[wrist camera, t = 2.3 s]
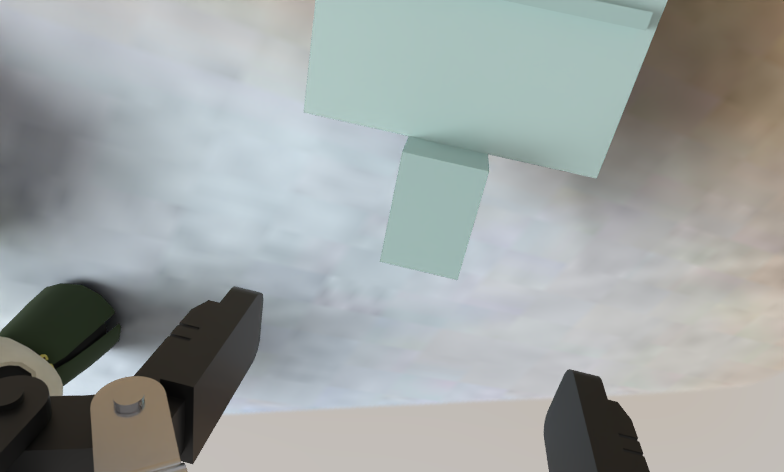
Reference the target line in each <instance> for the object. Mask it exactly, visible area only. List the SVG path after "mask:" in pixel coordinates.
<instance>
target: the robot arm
mask: <svg viewBox="0 0 784 472" xmlns="http://www.w3.org/2000/svg"><path fill="white" fill-rule="evenodd" d="M262 308H263V294H262V293H260V292H256V291H251V290H247V289H243V288H239V287H233V288H231V290H230V291H229V292H228V293H227V295H226V296H225V297H224V298H223V300H222V301H221V302H220V303H218V302H214V301H210V300H208V301H206V302H205V303H203V304H201V305H199V306H197V307H195V308H193V309H192V310H191V311H190V312H189V313H188V314H187V315H186V316H185V317H184V319H183V320H182V321H181V322H180V325H179V326H177V327H176V328H175V329H174V330H173V331H172V333H171V335H170V336H168V337H167V338H166V339H165V341H164V342H163V343H162V344H161V345H160V346H159V348H158V349H157V350H156V351H155V352H154V353H153V354H152V356H151V357H150V358H149V359H148V360H147V361H146V363H145V364H144V365H143V366H142V367H141V368H140V369H139V371H138V372H137V373H136V374H135V375H134V376H131V377H125V378H121V379H118V380H115V381H113V382H111V383H109V384H107V385H106V386H104V387H103V388H101V389H100V390H99V391H98V392H97V393H96V395H85V396H50V394H49V389H48V386H47V385H46V383H45V382H43V381H42V380H40V379H38V378H36V377H32V376H26V375H17V376H9V377H4V378H1V379H0V472H187V468H186V465H185V463H181V461H183V462H187V463H190V464H193V463H194V461H195V460H196V458H197V456H198V455H199V453H200V451H201V450H202V448H203V446H204V444H205V442H206V441H207V439H208V438H209V436H210V434H211V432H212V431H213V429H214V427H215V426H216V424H217V422H218V420H219V419H220V417H221V415H222V414H223V412H224V410H225V409H226V407H227V405H228V403H229V402H230V400H231V398H232V397H233V395H234V393H235V392H236V390H237V388H238V386H239V385H240V383H241V381H242V380H243V378H244V376H245V374H246V373H247V371H248V369H249V368H250V366H251V364H252V362H253V360H254V358H255V356H256V353H257V350H258V346H259V341H260V331H261V320H262ZM637 439H638V437H637V434H636V431H635V429H634V426H633V423H632V420H631V419H630V417H629V416H628V415H627V414H626V412H625V411H624V410H623V408H622V407H621V406H620V405H619V403H618V402H615V401H611V400H608V399H607V396H606V392H605V389H604V386H603V383H602V380H601V378H600V377H599V376H595V375H591V374H587V373H583V372H578V371H574V370H570V369H569V370H567V371H566V373H565V374H564V376H563V379H562V381H561V383H560V385H559V387H558V390H557V392H556V394H555V396H554V398H553V401H552V403H551V405H550V407H549V410H548V412H547V415H546V419H545V424H544V440H545V447H546V453H547V461H548V467H549V472H650V471H649V469H648V466H647V463H646V460H645V458H644V457H643V452H642V449H641V446H640V443H639V442H638V441H637Z"/></svg>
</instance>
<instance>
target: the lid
mask: <svg viewBox="0 0 784 472" xmlns="http://www.w3.org/2000/svg"><path fill="white" fill-rule="evenodd" d="M667 1H668V0H316V1H315V11H314V20H313V29H312V39H311V48H310V57H309V67H308V76H307V85H306V95H305V104H304V113H308V114H313V115H317V116H322V117H326V118H331V119H335V120H339V121H344V122H348V123H353V124H357V125H361V126H366V127H370V128H375V129H379V130H384V131H388V132H392V133H397V134H401V135H406V136H409V137H408V139H407V142H406V144H405V147H404V149H403V151H402V156H401V161H400V166H399V171H398V175H397V180H396V185H395V190H394V195H393V200H392V205H391V210H390V215H389V219H388V224H387V229H386V234H385V239H384V244H383V249H382V254H381V259H380V262H383V263H388V264H392V265H396V266H400V267H404V268H409V269H413V270H417V271H421V272H425V273H430V274H434V275H438V276H442V277H447V278H451V279H455V280H458V276H459V273H460V270H461V266H462V263H463V259H464V256H465V252H466V249H467V246H468V242H469V239H470V235H471V232H472V228H473V225H474V222H475V218H476V215H477V211H478V208H479V204H480V201H481V198H482V194H483V191H484V187H485V184H486V180H487V177H488V174H489V163H488V154H490V155H494V156H499V157H503V158H507V159H512V160H516V161H521V162H525V163H529V164H534V165H538V166H543V167H547V168H552V169H556V170H560V171H565V172H569V173H574V174H578V175H583V176H587V177H591V178H596V179H597V176H598V174H599V171H600V169H601V166H602V164H603V161H604V159H605V156H606V154H607V151H608V149H609V146H610V144H611V141H612V139H613V136H614V134H615V131H616V129H617V126H618V124H619V121H620V119H621V116H622V114H623V111H624V109H625V106H626V104H627V101H628V98H629V96H630V93H631V91H632V88H633V86H634V83H635V81H636V78H637V76H638V73H639V71H640V68H641V66H642V63H643V61H644V58H645V56H646V53H647V51H648V48H649V46H650V43H651V41H652V38H653V36H654V33H655V31H656V28H657V26H658V23H659V21H660V18H661V16H662V13H663V11H664V8H665V6H666V3H667Z"/></svg>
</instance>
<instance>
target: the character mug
mask: <svg viewBox="0 0 784 472" xmlns="http://www.w3.org/2000/svg"><path fill="white" fill-rule="evenodd" d="M114 314H115V311H114V309H113V308H112V307H111V306H110V304H109V303H108V302H107V301H106V300H105V299H104V298H103V297H102V296H101V295H100V294H98V293H96V292H94V291H92V290H90V289H89V288H87V287H85V286H83V285H76V284H62V283H61V284H57V285H53V286H50V287H46V288H45V289H44V290H43V291H41V292H40V293H39V294H38V295H37V296H36V297H35V298H34V299H33V300H31V301H30V302H29V303H28V304H27V305H26V306H25V307H24V308H23V309H22V310H21V311H20V312H19V313H18V314H17V315H16V316H15V317H14V318H13V319H12V320H11V321H10V322H9V323H8V324H7V325H6V326H5V327H4V328H3V329H2V331H1V332H0V379H1V378H4V377H9V376H17V375H26V376H32V377H36V378H38V379H40V380H42V381H43V382H45V383H46V385H47V386H48V389H49V394H50V396H62V395H63V386H64V385H65V384H67V383H68V382H69V381H71V380H72V379H73V378H75V377H76V376H77V375H79V374H80V373H81V372H83V371H84V370H86V369H87V368H88V367H90V366H91V365H92V364H93V363H94V362H96V361H97V360H98V359H99V358H100V357H102V356H103V355H104V354H105V353H106V352H107V351H109V350H110V349H111V348H112V347H113V346H114V345H115V344H116V343H117V342H118V341H119V337H120V331H121V326H120V324H118V325H116V326H115V327H114V328H113V329H112V330H110V331H109V332H108V333H107V329H106V324H105V322H106V321H107V320H108V319H109V318H110V317H111V316H112V315H114Z"/></svg>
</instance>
